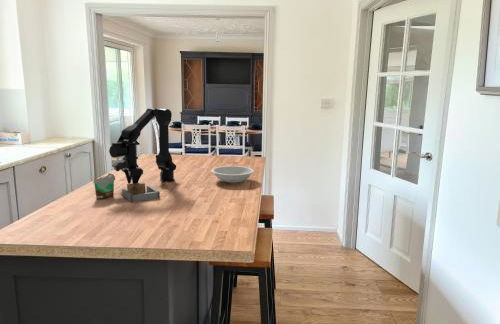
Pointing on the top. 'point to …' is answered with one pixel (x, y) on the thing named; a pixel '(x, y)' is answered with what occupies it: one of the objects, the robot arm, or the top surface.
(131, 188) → the wooden t-shaped block
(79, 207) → the top surface
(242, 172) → the soup bowl
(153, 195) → the corral
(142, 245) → the top surface
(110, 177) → the food container
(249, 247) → the top surface
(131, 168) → the robot arm
